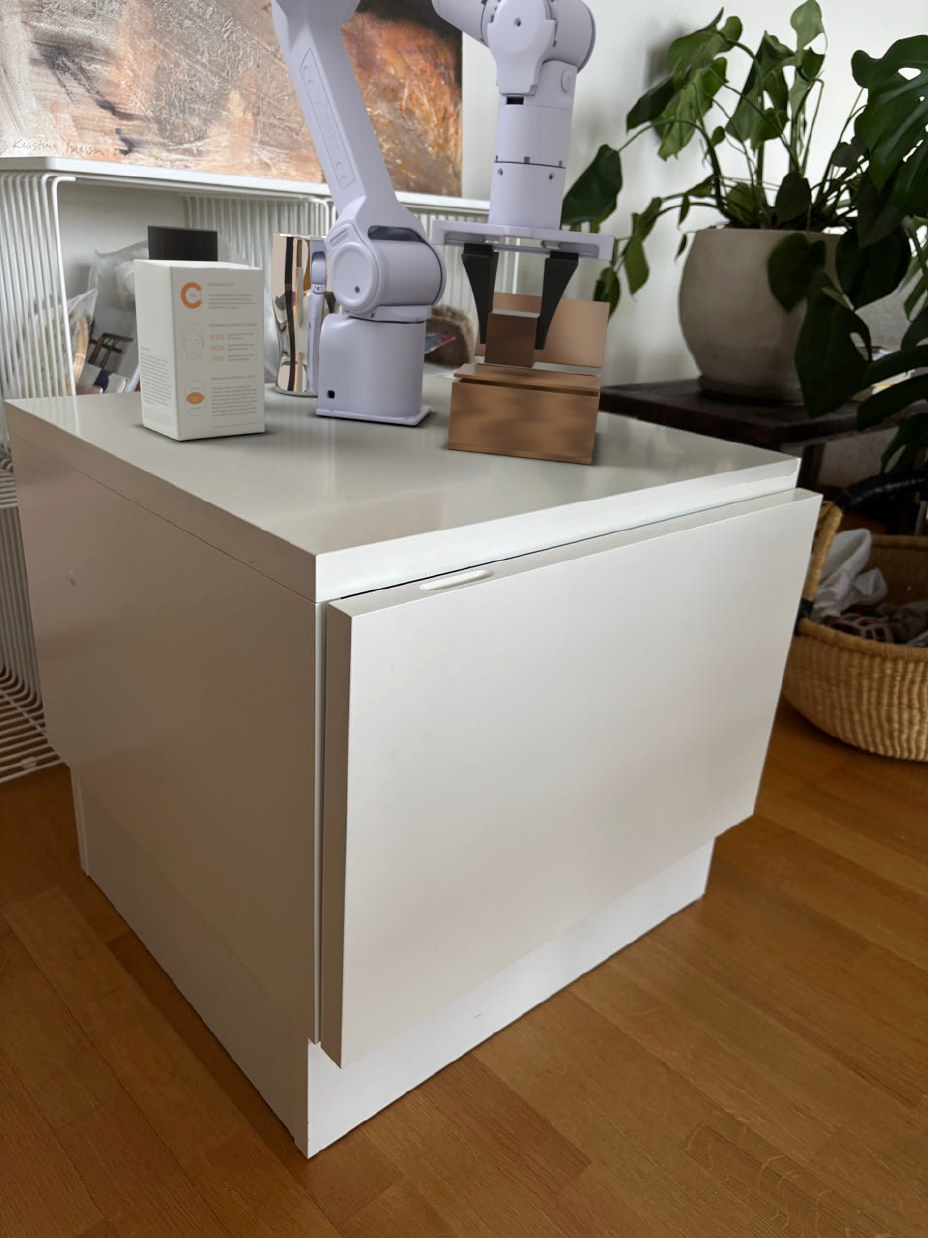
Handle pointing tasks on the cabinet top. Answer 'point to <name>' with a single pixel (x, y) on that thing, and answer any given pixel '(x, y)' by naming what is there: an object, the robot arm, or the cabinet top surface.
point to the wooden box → (524, 412)
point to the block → (511, 338)
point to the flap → (563, 329)
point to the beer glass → (300, 308)
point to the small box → (200, 347)
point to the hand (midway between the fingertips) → (511, 345)
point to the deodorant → (182, 244)
